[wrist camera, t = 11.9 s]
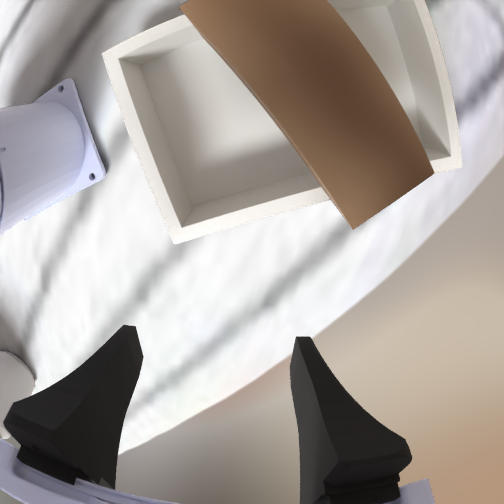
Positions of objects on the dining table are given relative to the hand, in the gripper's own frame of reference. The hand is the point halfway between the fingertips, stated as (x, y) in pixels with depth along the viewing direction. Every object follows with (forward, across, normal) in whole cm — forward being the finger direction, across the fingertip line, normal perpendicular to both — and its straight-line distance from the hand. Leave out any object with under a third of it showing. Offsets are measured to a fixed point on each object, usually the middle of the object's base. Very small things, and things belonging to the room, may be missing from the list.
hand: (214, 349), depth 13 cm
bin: (+9, -4, -11) cm, 15 cm away
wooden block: (+5, -3, -11) cm, 13 cm away
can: (+10, +30, +20) cm, 37 cm away
